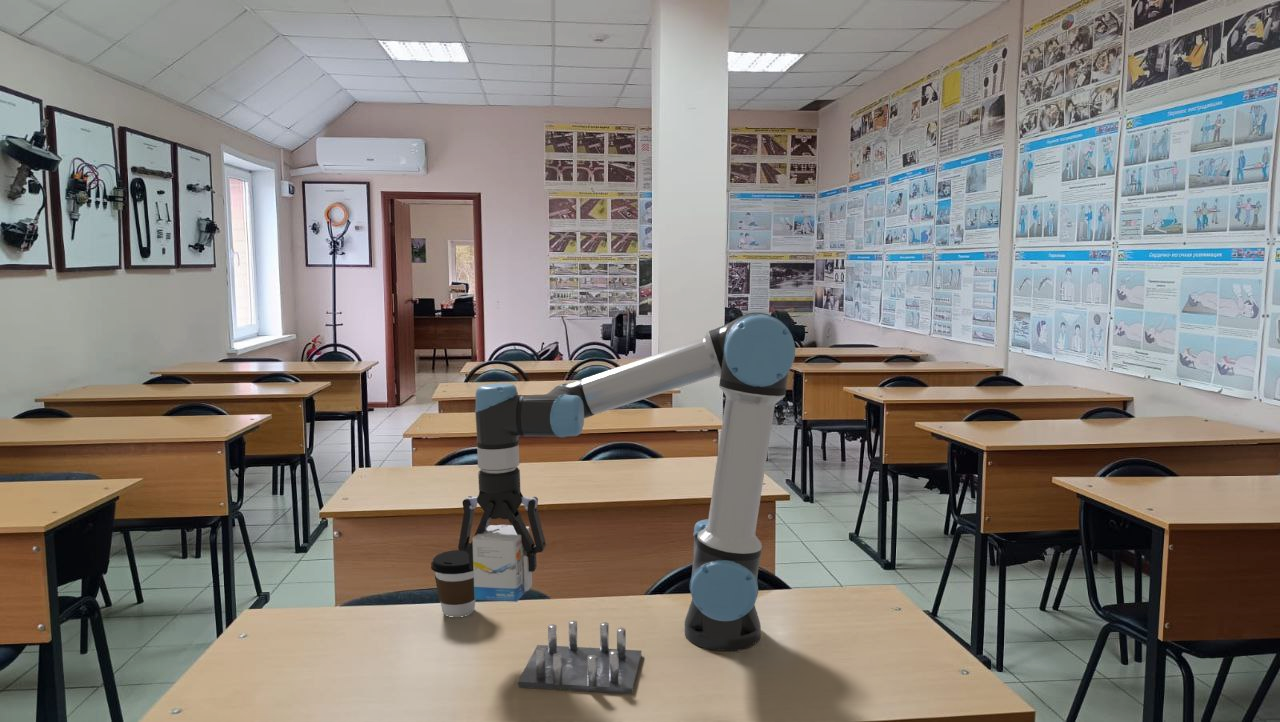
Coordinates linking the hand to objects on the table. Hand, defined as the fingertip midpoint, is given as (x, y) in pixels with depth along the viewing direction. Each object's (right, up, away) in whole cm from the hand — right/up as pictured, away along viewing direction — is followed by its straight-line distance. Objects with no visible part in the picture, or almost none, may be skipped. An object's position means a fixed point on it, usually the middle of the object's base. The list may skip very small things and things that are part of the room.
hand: (503, 587), depth 146 cm
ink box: (0, -1, 0) cm, 1 cm away
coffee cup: (-13, -12, +21) cm, 27 cm away
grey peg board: (+15, -14, -4) cm, 21 cm away
